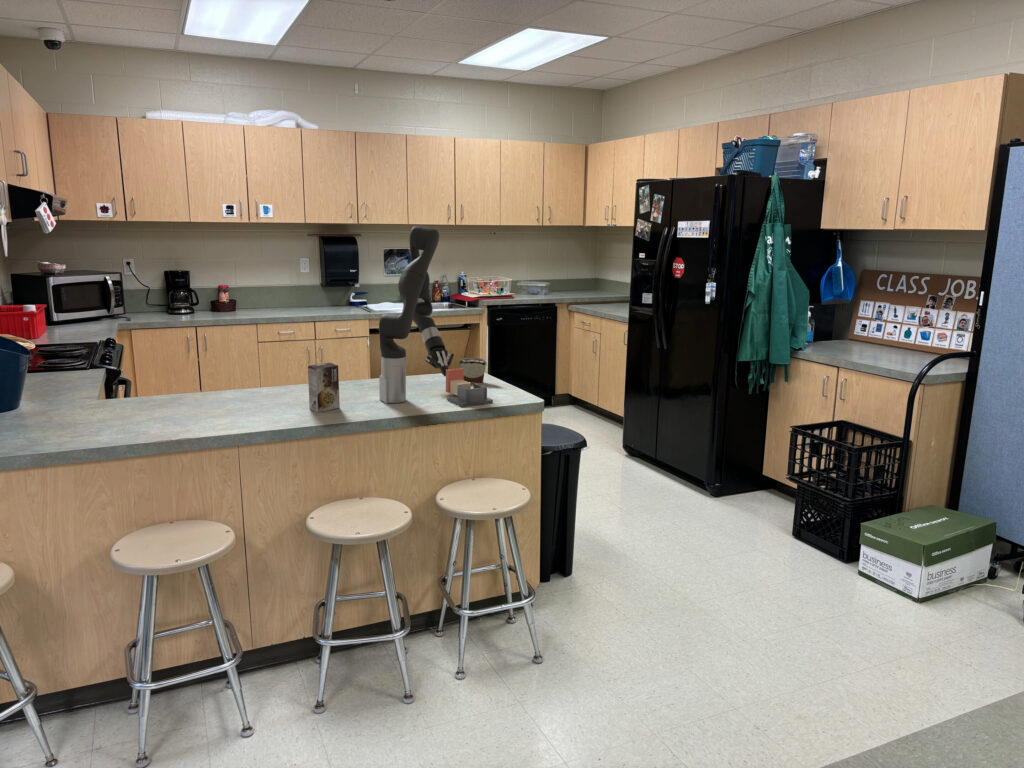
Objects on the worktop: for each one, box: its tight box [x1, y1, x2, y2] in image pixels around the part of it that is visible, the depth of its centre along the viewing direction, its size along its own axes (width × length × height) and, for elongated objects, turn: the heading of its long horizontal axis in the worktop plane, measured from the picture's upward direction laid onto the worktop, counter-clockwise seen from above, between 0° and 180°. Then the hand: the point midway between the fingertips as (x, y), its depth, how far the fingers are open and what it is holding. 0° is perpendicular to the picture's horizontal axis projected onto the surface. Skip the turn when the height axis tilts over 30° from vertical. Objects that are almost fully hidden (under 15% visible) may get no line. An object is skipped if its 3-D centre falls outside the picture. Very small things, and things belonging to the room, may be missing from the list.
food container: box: [457, 357, 488, 384], centre depth 306 cm, size 12×6×10 cm, turn 84°
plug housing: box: [446, 383, 494, 408], centre depth 273 cm, size 14×11×6 cm
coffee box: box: [307, 362, 341, 413], centre depth 256 cm, size 9×6×16 cm
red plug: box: [445, 367, 472, 396], centre depth 279 cm, size 7×9×9 cm
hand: (447, 375), depth 287 cm, fingers closed
